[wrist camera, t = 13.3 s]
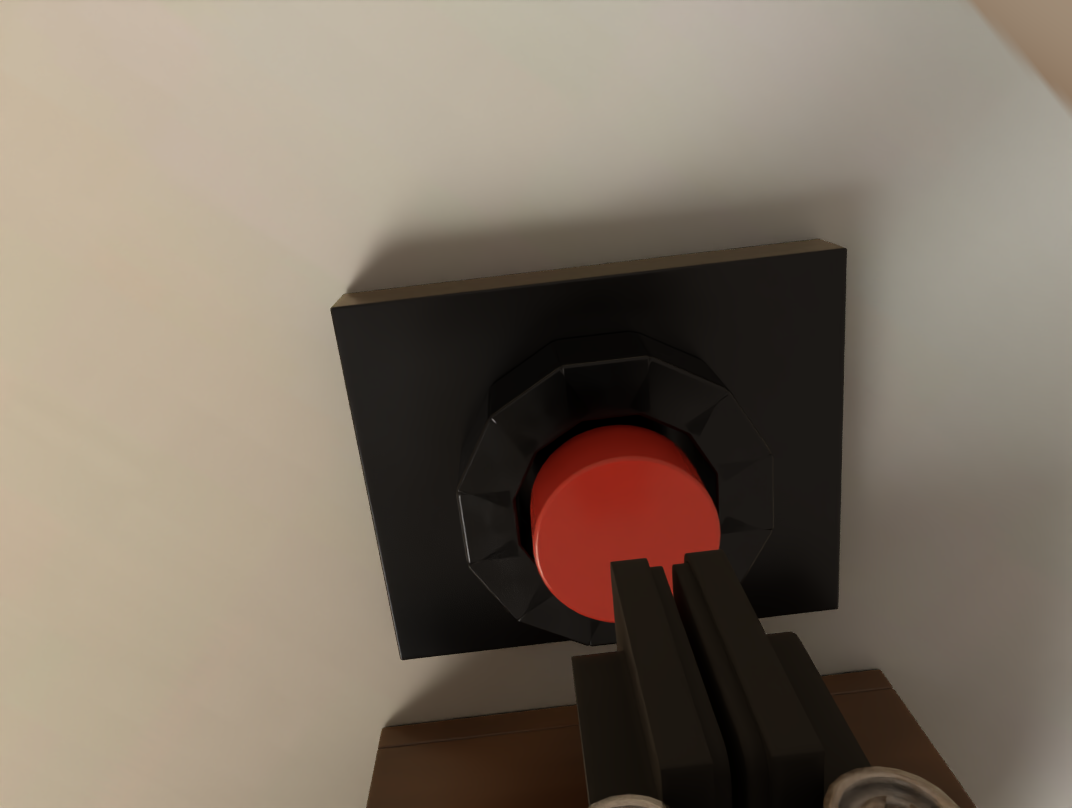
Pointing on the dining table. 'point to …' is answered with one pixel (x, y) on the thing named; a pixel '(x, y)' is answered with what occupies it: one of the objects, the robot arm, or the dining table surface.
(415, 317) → the button block
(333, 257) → the dining table surface
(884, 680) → the frame box
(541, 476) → the button
